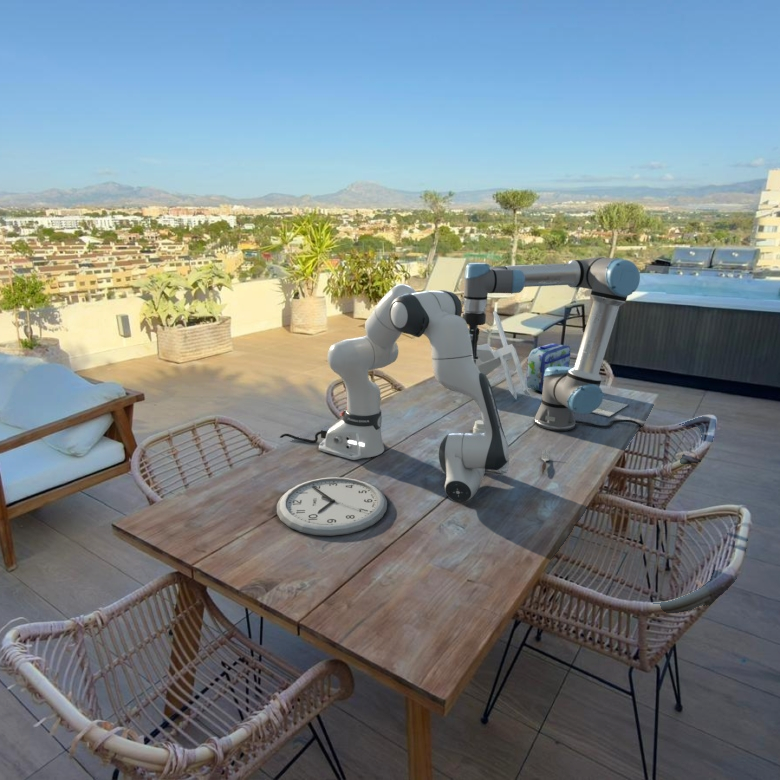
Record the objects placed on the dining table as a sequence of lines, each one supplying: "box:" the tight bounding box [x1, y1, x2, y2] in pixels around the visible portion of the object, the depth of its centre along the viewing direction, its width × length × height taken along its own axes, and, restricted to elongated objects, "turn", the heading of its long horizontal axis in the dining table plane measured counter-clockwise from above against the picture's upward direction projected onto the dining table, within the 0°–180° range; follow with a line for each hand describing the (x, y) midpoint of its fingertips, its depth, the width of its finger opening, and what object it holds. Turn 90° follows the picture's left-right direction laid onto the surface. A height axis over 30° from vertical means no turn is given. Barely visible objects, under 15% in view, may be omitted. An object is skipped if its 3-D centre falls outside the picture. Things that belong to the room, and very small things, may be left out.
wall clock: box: [276, 476, 388, 537], centre depth 142 cm, size 30×2×30 cm
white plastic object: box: [474, 310, 531, 400], centre depth 245 cm, size 37×45×31 cm
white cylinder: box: [472, 419, 486, 433], centre depth 164 cm, size 4×4×16 cm
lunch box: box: [525, 343, 571, 393], centre depth 249 cm, size 26×11×21 cm, turn 134°
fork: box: [541, 449, 551, 474], centre depth 169 cm, size 3×16×2 cm, turn 160°
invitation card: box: [591, 398, 629, 418], centre depth 226 cm, size 21×1×15 cm
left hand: (479, 450), depth 165 cm, fingers closed on white cylinder, 4 cm apart
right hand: (469, 380), depth 177 cm, fingers closed on lid, 5 cm apart
